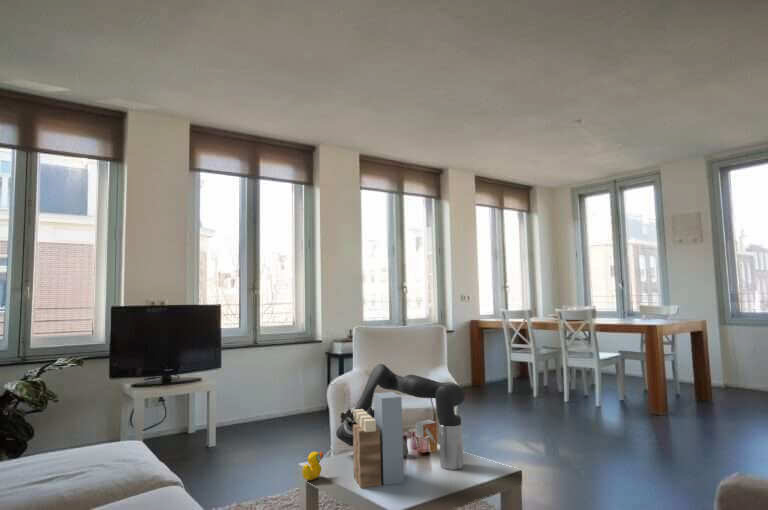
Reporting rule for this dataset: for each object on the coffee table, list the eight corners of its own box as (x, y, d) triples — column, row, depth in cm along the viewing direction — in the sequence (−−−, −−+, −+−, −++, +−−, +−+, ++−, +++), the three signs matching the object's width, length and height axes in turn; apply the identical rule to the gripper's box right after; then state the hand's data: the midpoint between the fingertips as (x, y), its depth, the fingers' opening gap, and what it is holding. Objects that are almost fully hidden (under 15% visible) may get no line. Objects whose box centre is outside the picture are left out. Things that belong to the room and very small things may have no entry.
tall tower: (375, 474, 200) (373, 393, 203) (394, 472, 202) (392, 391, 205) (383, 485, 188) (381, 398, 192) (403, 482, 191) (401, 396, 194)
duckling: (316, 473, 204) (316, 447, 205) (327, 475, 201) (327, 449, 202) (298, 482, 194) (298, 455, 195) (309, 484, 192) (309, 457, 193)
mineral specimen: (390, 451, 230) (393, 433, 230) (408, 456, 227) (411, 438, 227) (385, 455, 223) (389, 437, 223) (403, 460, 220) (407, 442, 220)
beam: (353, 419, 208) (353, 409, 208) (362, 418, 209) (362, 409, 209) (365, 432, 187) (365, 421, 187) (375, 431, 188) (375, 420, 188)
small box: (424, 454, 226) (423, 424, 227) (415, 451, 231) (414, 422, 232) (437, 451, 230) (436, 422, 232) (429, 447, 236) (428, 419, 237)
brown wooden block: (353, 477, 198) (352, 424, 200) (373, 475, 200) (372, 422, 202) (360, 488, 186) (359, 431, 188) (381, 485, 188) (379, 429, 190)
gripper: (336, 416, 217) (342, 402, 204) (368, 413, 221) (375, 400, 208) (338, 433, 213) (344, 421, 200) (370, 430, 217) (378, 418, 204)
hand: (360, 410), depth 204 cm, fingers open, 8 cm apart
